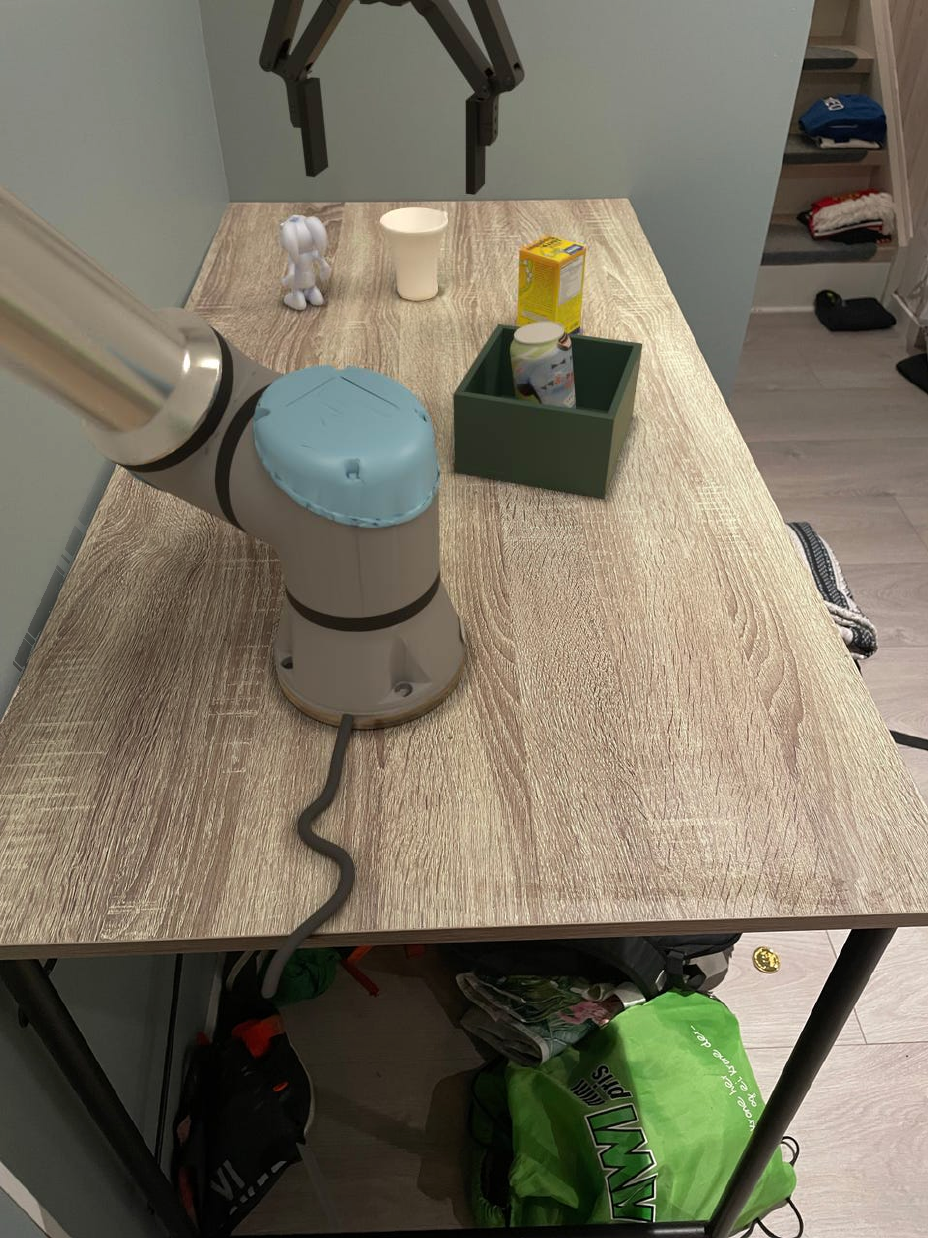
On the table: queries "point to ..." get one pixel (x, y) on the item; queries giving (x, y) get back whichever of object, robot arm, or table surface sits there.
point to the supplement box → (551, 283)
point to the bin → (546, 418)
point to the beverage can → (543, 365)
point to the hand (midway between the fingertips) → (394, 180)
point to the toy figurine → (303, 259)
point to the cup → (415, 249)
